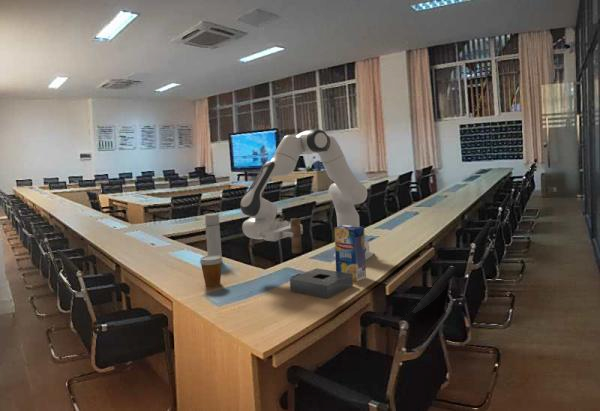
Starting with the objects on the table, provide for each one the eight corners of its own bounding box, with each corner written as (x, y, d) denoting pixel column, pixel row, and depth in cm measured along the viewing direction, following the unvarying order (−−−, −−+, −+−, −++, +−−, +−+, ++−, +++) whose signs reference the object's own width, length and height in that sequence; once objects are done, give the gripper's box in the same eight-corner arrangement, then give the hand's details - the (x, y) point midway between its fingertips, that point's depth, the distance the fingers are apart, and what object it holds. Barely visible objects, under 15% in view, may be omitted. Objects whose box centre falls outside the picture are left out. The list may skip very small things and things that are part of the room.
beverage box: (345, 273, 199) (344, 225, 197) (366, 277, 192) (364, 227, 189) (336, 277, 195) (334, 227, 192) (356, 281, 187) (354, 229, 184)
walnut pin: (296, 250, 188) (294, 217, 186) (303, 251, 186) (302, 218, 184) (290, 252, 185) (288, 219, 183) (297, 253, 183) (295, 220, 181)
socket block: (316, 279, 192) (316, 268, 192) (352, 285, 181) (352, 273, 180) (290, 291, 178) (289, 279, 178) (327, 298, 167) (327, 285, 166)
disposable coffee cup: (199, 283, 194) (197, 256, 193) (221, 280, 198) (219, 253, 197) (204, 289, 186) (201, 261, 184) (226, 285, 189) (224, 258, 188)
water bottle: (225, 261, 231) (221, 214, 228) (210, 264, 227) (207, 216, 223) (217, 258, 239) (214, 212, 235) (203, 261, 234) (200, 214, 231)
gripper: (255, 227, 184) (280, 230, 175) (287, 219, 200) (312, 221, 191) (256, 242, 185) (281, 246, 176) (288, 233, 201) (312, 236, 192)
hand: (297, 233), depth 184 cm, fingers closed on walnut pin, 4 cm apart
